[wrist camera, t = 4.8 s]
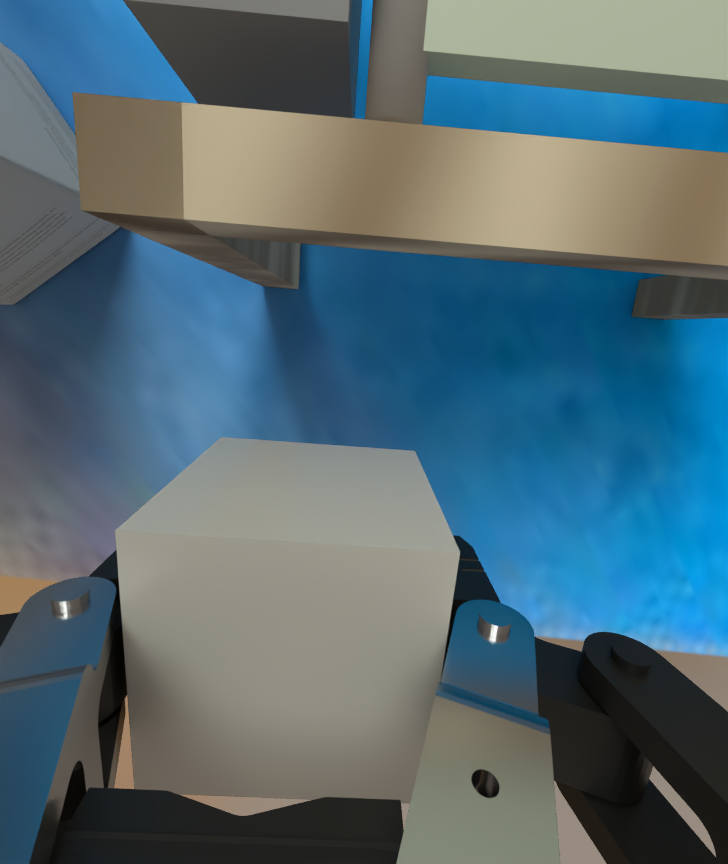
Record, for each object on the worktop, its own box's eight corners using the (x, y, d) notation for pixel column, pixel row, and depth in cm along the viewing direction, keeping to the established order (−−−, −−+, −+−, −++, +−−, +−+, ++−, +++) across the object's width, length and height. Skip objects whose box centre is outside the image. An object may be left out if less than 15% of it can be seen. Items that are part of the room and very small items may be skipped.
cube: (222, 605, 12) (134, 792, 7) (220, 437, 11) (114, 530, 6) (395, 614, 12) (421, 803, 8) (415, 450, 11) (460, 552, 6)
